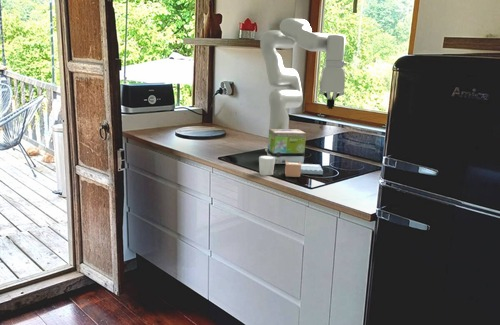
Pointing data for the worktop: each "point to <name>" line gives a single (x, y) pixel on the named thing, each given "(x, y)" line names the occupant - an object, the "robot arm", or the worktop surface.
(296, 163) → the cardboard box
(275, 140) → the tea box
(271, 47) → the robot arm
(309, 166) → the blue microchip card
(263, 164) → the shot glass
